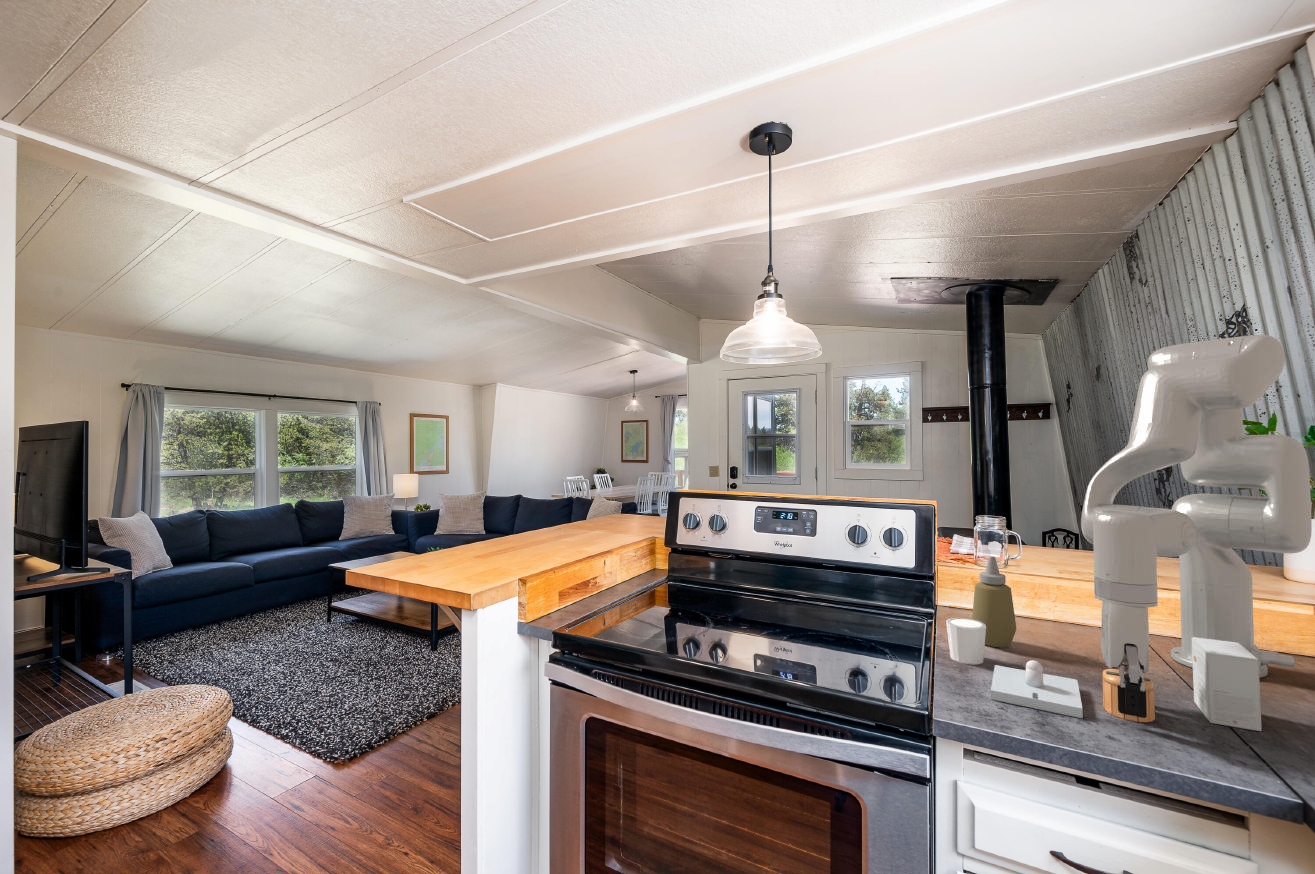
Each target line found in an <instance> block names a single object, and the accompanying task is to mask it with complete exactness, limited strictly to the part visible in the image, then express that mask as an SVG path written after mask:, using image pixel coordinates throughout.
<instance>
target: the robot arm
mask: <svg viewBox="0 0 1315 874" xmlns="http://www.w3.org/2000/svg"><path fill="white" fill-rule="evenodd" d="M1285 361H1286V354H1285V351H1284V348H1283V345H1282V343H1281V342H1280V341H1279V340H1278V339H1277V338H1275V337H1273V335H1272V336H1271V335H1267V334H1252V335H1250V334H1249V335H1241V336H1234V337H1226V338H1218V339H1211V340H1210V339H1209V340H1202V341H1200V340H1199V341H1193V342H1186V343H1179V344H1178V343H1177V344H1174V345H1168V346H1166V347H1165V346H1164V347H1162V348H1159V349H1156V350H1155V351H1154V352H1152V353H1151V354H1150V355H1149V357H1148V359H1147V368H1148V370H1147V371H1146V372H1144V374H1143V375H1142V376H1141V379H1140V381H1139V386H1138V390H1137V396H1136V401H1135V406H1134V412H1133V416H1132V422H1131V427H1130V432H1129V433H1130V434H1129V439H1128V443H1127V445H1125V447H1124V448H1123V449H1122V450H1120V451H1119V452H1117V453H1116V454H1114V455H1113V456H1112V457H1111V458H1110V459H1108V460H1107V461H1106V462H1105V463H1104V464H1103V465H1102V466H1101V467H1100V468H1099V469H1098V470H1097V471H1096V473H1094V474H1093V476H1092V477H1091V479H1090V481H1089V483H1088V485H1087V488H1086V491H1085V496H1084V501H1083V506H1082V511H1081V518H1080V528H1081V532H1082V535H1083V537H1084V539H1085V540H1087V542H1088V543H1089V544H1092V545H1093V587H1094V588H1093V589H1094V591H1093V592H1094V598H1095V599H1097V600H1098V601H1101V645H1100V646H1101V647H1100V649H1101V654H1102V658H1103V660H1104V663H1105V665H1106V667H1108V669H1118V671H1119V681H1120V685H1117V691H1118V711H1119V712H1120V713H1122V714H1126V715H1131V716H1136V717H1141V718H1146V717H1147V707H1146V690H1145V684H1144V676H1143V675H1145V674H1147V673H1148V672H1149V667H1150V665H1149V664H1150V629H1149V628H1150V626H1149V608H1154V607H1155V608H1156V607H1157V606H1158V604H1159V603H1158V599H1159V598H1158V576H1157V575H1158V572H1157V567H1158V566H1157V557H1167V558H1168V557H1169V558H1170V557H1171V558H1174V557H1178V561H1179V562H1178V563H1179V565H1178V566H1179V567H1178V568H1179V589H1180V591H1179V594H1180V595H1179V596H1180V633H1181V636H1180V637H1181V646H1176V647H1173V648H1172V649H1171V650H1170V655H1171V658H1172V659H1173V660H1174V661H1176V662H1178V663H1179V664H1181V665H1183V666H1186V667H1189V668H1191V669H1193V661H1192V637H1196V638H1204V639H1213V640H1220V641H1229V642H1236V643H1239V644H1240V645H1242V646H1243V647H1244V648H1245V649H1246V650H1248V651H1249V652H1250V653H1251V654H1252V655H1254V656H1255V657H1256V658H1257V659H1258V660H1259V679H1260V678H1263V677H1266V676H1268V672H1269V671H1268V667H1267V666H1269V664H1271V665H1278V667H1286V668H1293V669H1294V668H1295V658H1294V657H1293V656H1292V655H1287V654H1279V652H1278V651H1274V650H1273V651H1272V650H1263V649H1261V648H1259V647H1258V646H1257V645H1256V644H1255V632H1254V631H1255V630H1254V627H1255V626H1254V600H1253V599H1254V597H1253V594H1254V592H1253V591H1254V590H1253V575H1252V572H1251V569H1250V567H1249V566H1248V565H1247V564H1246V562H1245V561H1244V560H1243V558H1241V557H1240V556H1239V554H1238V553H1237V552H1236V551H1235V550H1234V549H1237V550H1239V549H1241V550H1249V551H1251V550H1252V551H1258V552H1267V553H1268V552H1269V553H1277V554H1297V553H1301V552H1303V551H1305V550H1306V549H1307V548H1308V547H1309V545H1310V544H1311V543H1310V542H1311V539H1312V538H1311V537H1312V533H1313V532H1312V526H1313V525H1312V503H1311V483H1310V481H1311V476H1310V466H1309V459H1308V454H1307V451H1306V449H1305V448H1304V445H1303V444H1302V443H1301V441H1299V440H1298V439H1296V438H1294V437H1292V436H1288V435H1281V434H1246V433H1245V431H1244V420H1243V409H1244V408H1245V409H1246V408H1249V407H1251V406H1253V405H1254V404H1256V403H1257V402H1258V401H1259V400H1260V399H1261V398H1262V397H1263V396H1264V395H1265V394H1266V392H1267V391H1268V390H1269V389H1270V388H1271V387H1272V386H1273V385H1274V383H1276V381H1277V380H1278V379H1279V377H1280V375H1281V374H1282V372H1283V369H1284V366H1285ZM1177 464H1179V465H1180V469H1181V474H1182V477H1183V478H1184V480H1185V481H1186V482H1188V483H1190V484H1193V485H1197V486H1203V487H1204V486H1205V487H1217V488H1231V489H1233V488H1235V489H1251V490H1252V489H1255V490H1261V491H1264V492H1265V494H1266V497H1265V496H1252V495H1251V496H1250V495H1239V494H1222V493H1220V494H1219V493H1193V494H1187V495H1184V496H1182V497H1181V496H1180V497H1179V498H1178V499H1177V500H1175V502H1174V503H1173V505H1172V506H1171V509H1170V508H1162V507H1159V508H1158V507H1149V506H1147V507H1146V506H1141V505H1140V506H1138V505H1127V504H1126V505H1125V504H1114V500H1115V498H1116V496H1117V494H1118V493H1119V491H1120V490H1121V489H1122V488H1123V487H1125V485H1127V484H1128V483H1130V482H1131V481H1133V480H1135V479H1137V478H1139V477H1142V476H1143V475H1147V474H1150V473H1154V472H1156V471H1158V470H1162V469H1166V468H1168V467H1172V466H1175V465H1177ZM1124 672H1126V674H1125V675H1124Z"/></svg>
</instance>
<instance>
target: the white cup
mask: <svg viewBox="0 0 1315 874" xmlns="http://www.w3.org/2000/svg"><path fill="white" fill-rule="evenodd" d="M945 622H946V632H947V640H948V649H949V655H950V659H951V660H953V661H956V662H958V663H961V664H965V665H981V664H983V663H984V658H985V647H986V646H985V635H986V625H985V624H984V623H982V622H980V621H976V620H972V618H971V619H970V618H965V617H951V618H947V619H946V620H945Z"/></svg>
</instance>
